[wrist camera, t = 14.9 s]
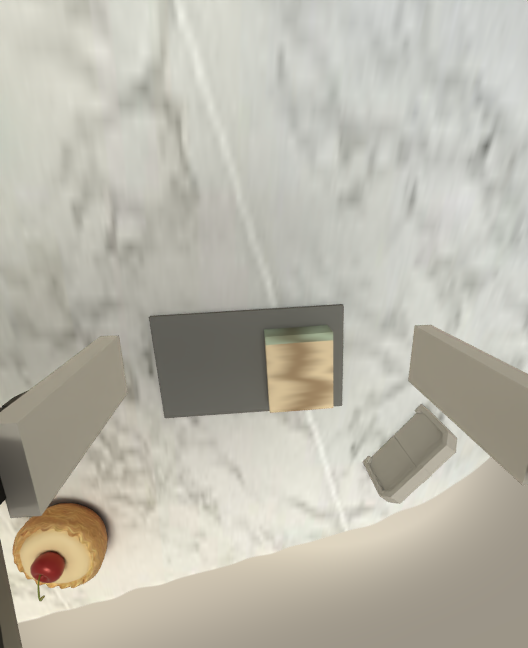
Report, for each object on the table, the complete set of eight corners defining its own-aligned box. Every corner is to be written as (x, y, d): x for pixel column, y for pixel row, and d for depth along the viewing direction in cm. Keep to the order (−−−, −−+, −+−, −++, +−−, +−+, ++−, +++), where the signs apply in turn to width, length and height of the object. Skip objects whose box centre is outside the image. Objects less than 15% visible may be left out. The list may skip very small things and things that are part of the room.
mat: (165, 415, 44) (164, 418, 44) (150, 316, 40) (148, 317, 40) (340, 403, 45) (342, 405, 44) (342, 304, 41) (343, 305, 41)
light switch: (362, 461, 48) (383, 504, 40) (420, 403, 46) (454, 437, 38) (370, 467, 48) (393, 511, 41) (429, 410, 46) (464, 445, 39)
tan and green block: (327, 396, 44) (327, 325, 41) (333, 407, 41) (333, 332, 38) (268, 400, 44) (264, 329, 41) (269, 412, 41) (265, 337, 38)
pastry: (107, 492, 47) (76, 549, 39) (120, 554, 51) (94, 620, 42) (23, 497, 47) (-27, 556, 39) (41, 559, 50) (-1, 627, 42)
